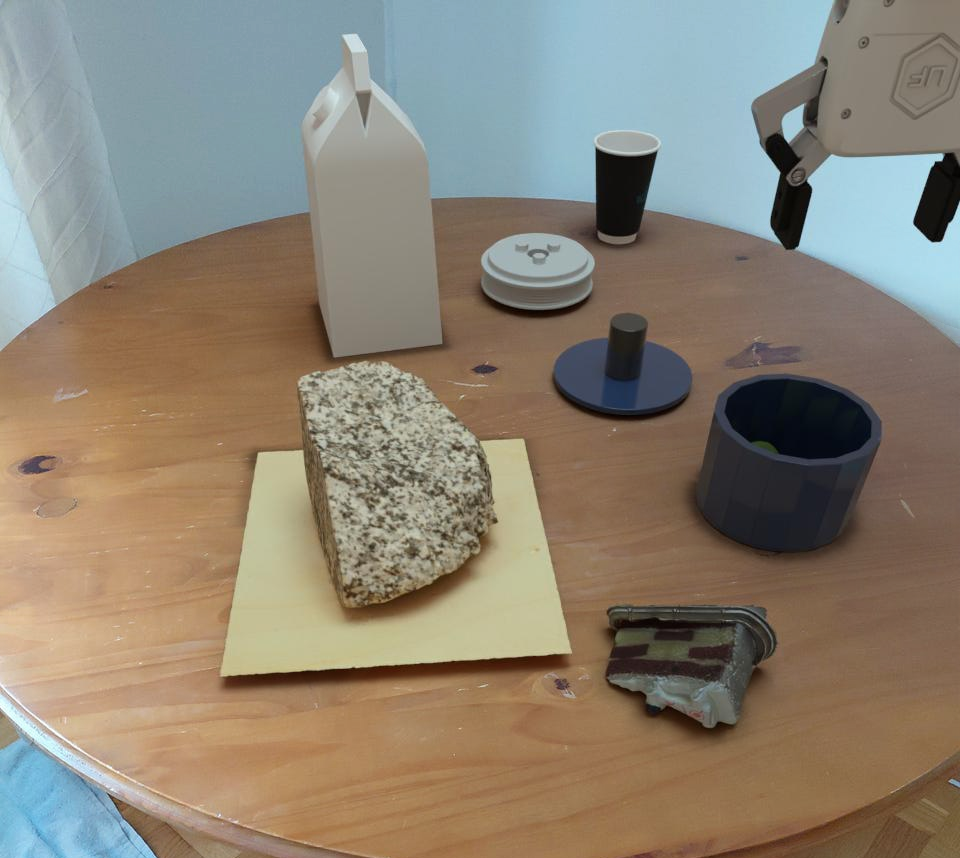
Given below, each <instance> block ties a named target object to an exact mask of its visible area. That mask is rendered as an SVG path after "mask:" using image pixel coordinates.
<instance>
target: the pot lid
mask: <svg viewBox="0 0 960 858" xmlns="http://www.w3.org/2000/svg"><path fill="white" fill-rule="evenodd" d="M608 327H609V328H608V335H607V337H599V338H592V339H588V340H585V341H582V342H578V343H576V344H573V345H571V346H570V347H568V348H567V349H565V350H564V351H562V352H561V353H560V355H559V356H558V357H557V358H556V360H555V362H554V365H553V380H554V383H555V385H556V387H557V388H558V390H559V391H560V392H561V393H562V394H563V395H564V396H565V397H567V398H568V399H569V400H571V401H573V402H574V403H576V404H578V405H580V406H582V407H584V408H587V409H590V410H593V411H597V412H600V413H605V414H610V415H621V416H639V415H647V414H648V415H649V414H654V413H658V412H661V411H665V410H668V409H670V408H672V407H674V406H676V405H677V404H679V403H681V402H682V401H683V400H684V399H685V398H686V397H687V395H688V394H689V393H690V390H691V388H692V384H693V372H692V369H691V367H690V365H689V364H688V363H687V361H686V360H685V359H684V358H682V356H680V355H679V354H678V353H676V352H675V351H673V350H671V349H669V348H668V347H665V346H663V345H661V344H658V343H655V342H651V341H648V340H647V338H648V337H647V336H648V329H649V320H648V319H647V318H646V317H644V316H643V315H641V314H638V313H633V312H621V313H618V314H615V315H613V316H612V317H611V318H610V320H609V326H608Z"/></svg>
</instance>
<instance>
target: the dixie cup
mask: <svg viewBox="0 0 960 858" xmlns="http://www.w3.org/2000/svg"><path fill="white" fill-rule="evenodd" d="M592 143H593V146H594V148H595V149H594V150H595V152H594V155H595V158H594V159H595V227H596V230H597V237H598V239H599V240H600V241H601V242H604V243H607V244H611V245H626V244H630V243H633V242H635V241H636V238H637V234H638V232H639V231H640V229H641V226H642V220H643V216H644V212H645V208H646V203H647V200H648V195H649V190H650V187H651V181H652V179H653V178H652V177H653V173H654V169H655V165H656V160H657V156H658V152H659V150H660V149H661V147H662V141H661V140H660V138H658V136H656V135H654V134H652V133H649V132H645V131H642V130H641V131H640V130H633V129H614V130H608V131H604V132H601V133H599V134H597V135H595V137H594V138H593V141H592Z"/></svg>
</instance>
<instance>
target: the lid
mask: <svg viewBox="0 0 960 858" xmlns="http://www.w3.org/2000/svg"><path fill="white" fill-rule="evenodd" d="M480 263H481V265H480V266H481V268H482V270H483V274H482V276H481V280H480V284H481V288H482V291H483V292H484V293H485V294H486V295H487V296H488V297H489V298H491V299H492V300H494V301H496V302H497V303H500V304H503V305H505V306H509V307H511V308H517V309H522V310H532V311H545V310H556V309H562V308H567V307H569V306H573V305H575V304H578V303H580V302H581V301H583V300H584V299H586V298H587V297H588V296H589V295H590V294H591V292H592V290H593V285H594V282H593V279H592V274H593V272H594V270H595V263H596V261H595V258H594V256H593V255H592V253H591V252H590V251H588V250H587V249H586V248H585V247H584V246H583V245H582V244H581V243H579V242H578V241H576V240H575V239H572V238H569V237H567V236H563V235H559V234H552V233H546V232H545V233H543V232H542V233H541V232H527V233H519V234H514V235H511V236H507V237H505V238H504V237H503V238H502V239H500V240H498V241H496V242H495V243H494V244H493V245H491V246H490V247H488V248H486V250H485V251H484V252H483V254H482V256H481V260H480Z"/></svg>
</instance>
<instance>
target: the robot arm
mask: <svg viewBox="0 0 960 858" xmlns="http://www.w3.org/2000/svg"><path fill="white" fill-rule="evenodd" d="M802 105H803V110H802V117H801V118H802V120H801V121H802V125H803V127H802V129H800V131H799V132H798V133H797V134H796V135H795V136H794V137H793V138H792V139H791V140H790V141H789V142H788V141H787V139H786V138H785V135H784V134H785V133H784V130H783V129H784V128H783V124H782V123H783V119H784V117H785V116H786V115H787V114H788V113H790V112H792V111H793V110H795V109H796V108H799V107H800V106H802ZM750 111H751V114H752V118H753V122H754V125H755V129H756V132H757V133H756V134H758V137H759V140H758V142H759V145H760V147H761V148H762V150H763V151H764V152H765V154H766V155H767V157H768V158H769V159H770V161H771V162H772V163H773V165H774V167H775V168H776V170H778V171H779V176H778V182H777V185H776V191H775V195H774V199H773V204H772V209H771V213H770V219H769V224H770V229H771V230H772V232H773V234H774V235H775V237H776V238H777V239H778V242H780V244H781V245H782V247H783V248H784V249H785V250H786V251H793V250H796V249H797V248H798V247H799V246H800V243H801V240H802V239H801V238H802V235H803V231H804V227H805V224H806V223H805V222H806V219H807V216H808V211H809V208H810V203H811V199H812V194H813V187H812V185H811V184H810V183H809V182H808V179H809V178H810V177H811V176H812V175H813V174H814V173H815V172H816V171H818V169H819V168H820V167H821V166H822V165H823V164H824V163H825V162H826V161H827V160H828V159H829V157H831V155H834V156H836V157H840V158H876V157H877V158H878V157H879V158H880V157H900V156H918V155H919V156H920V155H938V154H942V156H943V157H942V160H936V161H934V164H933V165H931V167H930V169H929V172H928V176H927V178H926V181H925V184H924V187H923V190H922V193H921V196H920V199H919V202H918V204H917V208H916V210H915V214H914V217H913V220H912V221H913V222H912V224H913V226H914V228H916V229H917V230H918V231H919V232H920V233H921V234H922V235H923V236H924V237H925V238H926V240H928V241H929V242H931V243H941V242H942V241H943V240H944V238H945V235H946V233H947V229H948V227H949V224H951V222H953V220H954V218H955V216H956V213H957V210H958V208H959V205H960V0H833V3H832V5H831V8H830V10H829V14H828V18H827V19H826V24H825V27H824V29H823V33H822V36H821V39H820V42H819V46H818V49H817V53H816V55H815V59H814V64H813V65H811V66H810V67H808V68H806V69H804V70H803V71H801V72H799V73H798V74H797V73H796V75H794V76H792V77H790V78H789V79H787V80H785V81H784V82H782V83H780V84H778V85H776V86H775V87H773V88H771V89H769V90H767V91H766V92H764V93H762V94H761V95H759V96H757V97H756V98H755V99H754V100H753V101H752V103H751V106H750Z"/></svg>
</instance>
